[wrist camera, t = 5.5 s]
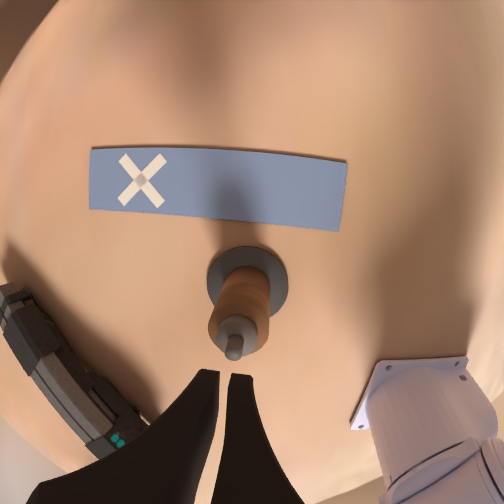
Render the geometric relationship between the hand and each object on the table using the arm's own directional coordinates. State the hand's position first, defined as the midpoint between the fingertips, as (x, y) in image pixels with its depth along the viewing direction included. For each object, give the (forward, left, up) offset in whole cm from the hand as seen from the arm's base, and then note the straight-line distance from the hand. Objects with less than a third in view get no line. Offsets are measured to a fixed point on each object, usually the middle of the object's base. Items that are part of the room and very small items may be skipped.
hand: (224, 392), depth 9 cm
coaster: (0, 0, -9) cm, 9 cm away
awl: (0, 0, -9) cm, 9 cm away
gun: (+13, +10, -10) cm, 20 cm away
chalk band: (+3, -6, -9) cm, 12 cm away
